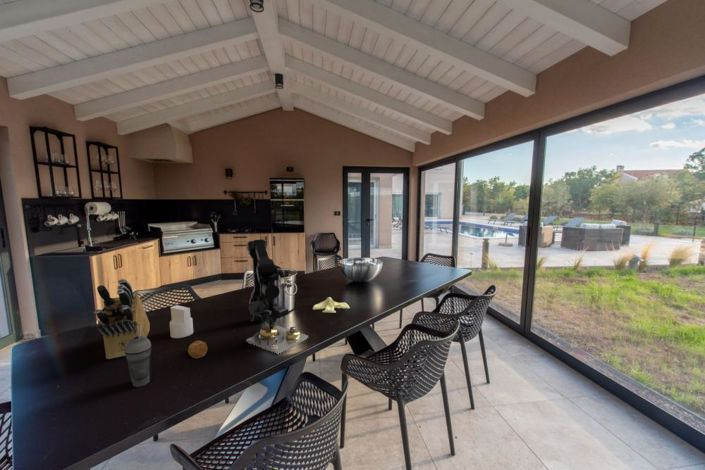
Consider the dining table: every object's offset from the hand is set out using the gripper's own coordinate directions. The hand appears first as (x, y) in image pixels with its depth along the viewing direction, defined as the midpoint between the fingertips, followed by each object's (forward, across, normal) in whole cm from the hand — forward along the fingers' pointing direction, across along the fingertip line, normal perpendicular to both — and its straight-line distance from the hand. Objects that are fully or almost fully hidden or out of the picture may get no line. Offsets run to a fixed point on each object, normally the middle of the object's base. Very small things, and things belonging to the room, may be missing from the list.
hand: (268, 328), depth 131 cm
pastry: (+6, -15, -22) cm, 27 cm away
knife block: (+5, -42, -36) cm, 56 cm away
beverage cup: (+5, -11, -44) cm, 46 cm away
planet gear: (+3, 0, 0) cm, 3 cm away
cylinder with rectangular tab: (+6, -38, -17) cm, 42 cm away
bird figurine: (+6, -5, +47) cm, 48 cm away
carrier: (+5, +3, +2) cm, 6 cm away
